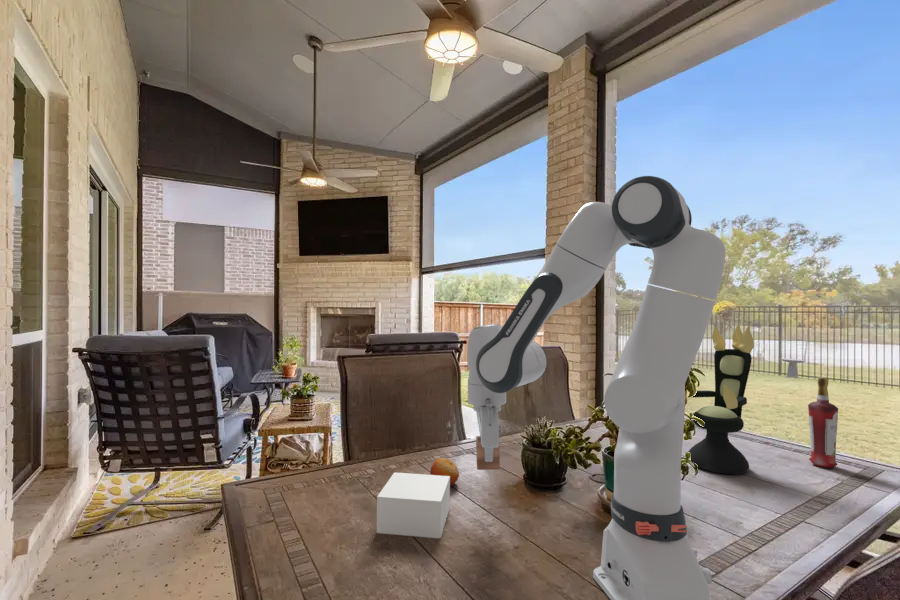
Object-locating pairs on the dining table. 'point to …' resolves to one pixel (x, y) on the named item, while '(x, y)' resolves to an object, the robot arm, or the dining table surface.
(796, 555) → the dining table surface
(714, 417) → the crowned throne chair
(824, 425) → the liquor
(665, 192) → the robot arm
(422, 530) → the cream box
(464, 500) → the dining table surface
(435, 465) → the fruit
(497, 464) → the terracotta block
